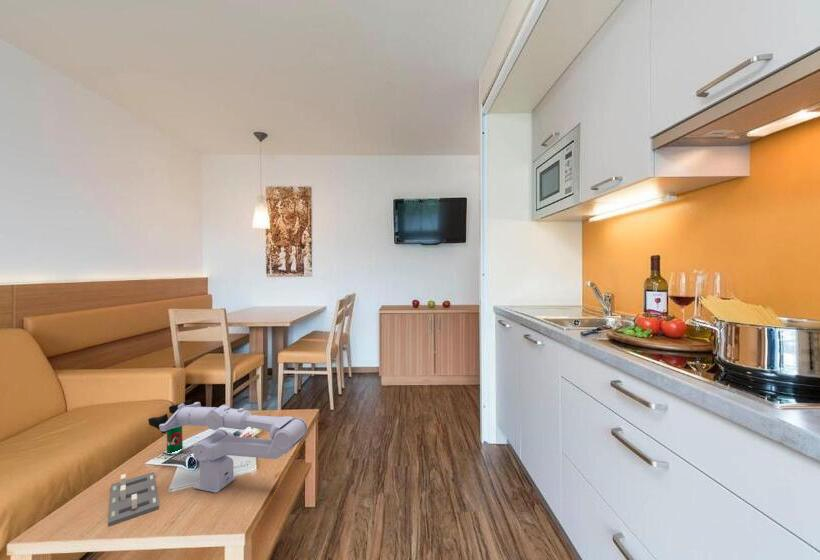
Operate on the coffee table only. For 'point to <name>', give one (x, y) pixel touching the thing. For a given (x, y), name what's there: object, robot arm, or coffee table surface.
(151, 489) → the breaker panel
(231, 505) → the coffee table surface
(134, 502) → the handle
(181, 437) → the soda can
